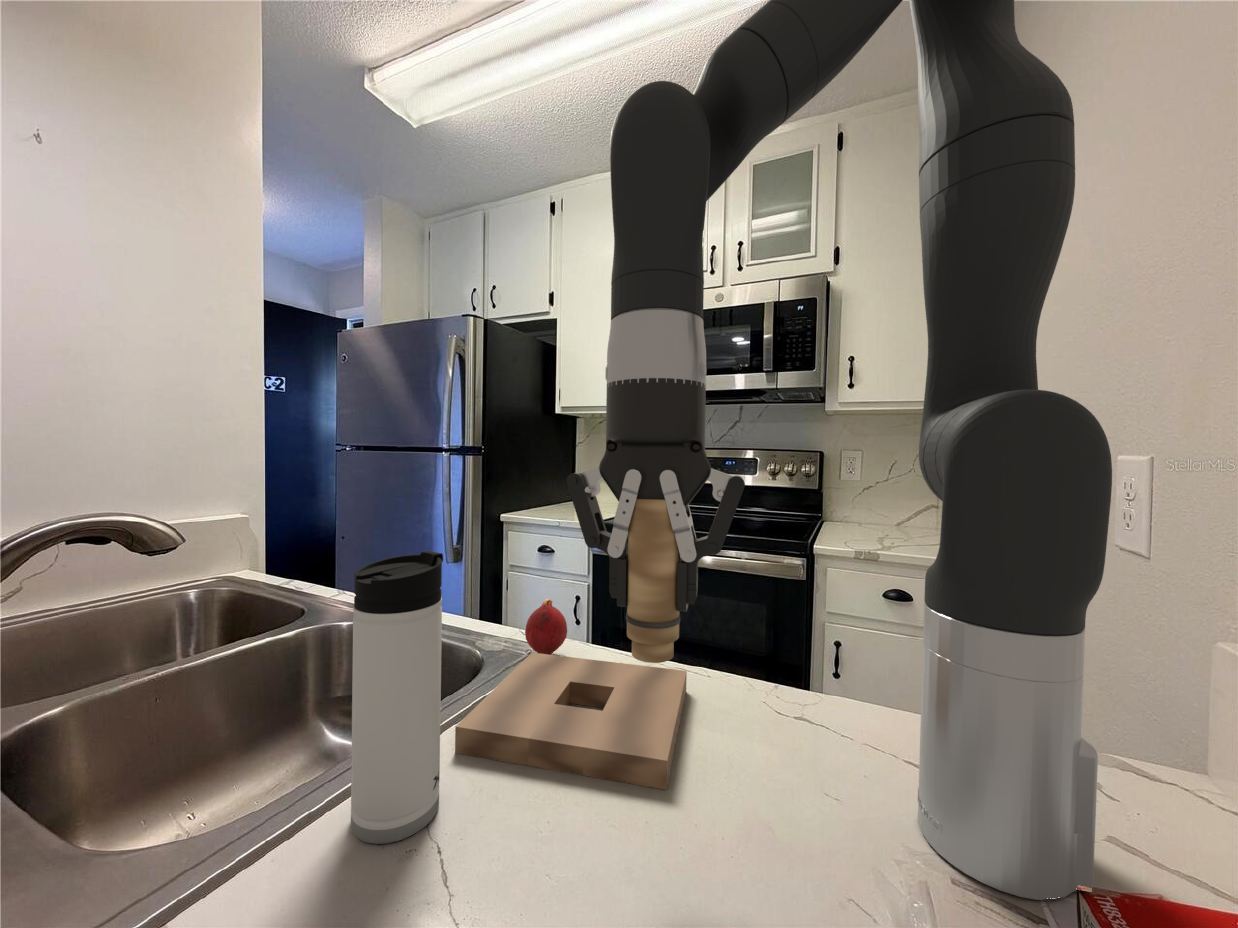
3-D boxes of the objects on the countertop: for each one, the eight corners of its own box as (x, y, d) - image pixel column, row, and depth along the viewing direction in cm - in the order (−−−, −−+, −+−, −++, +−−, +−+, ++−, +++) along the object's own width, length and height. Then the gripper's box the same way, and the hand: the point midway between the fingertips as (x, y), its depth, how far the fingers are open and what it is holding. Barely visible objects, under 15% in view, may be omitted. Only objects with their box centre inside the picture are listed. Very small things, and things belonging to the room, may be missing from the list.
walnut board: (686, 691, 59) (686, 670, 59) (666, 789, 42) (667, 760, 41) (531, 671, 64) (531, 652, 64) (455, 752, 46) (455, 726, 46)
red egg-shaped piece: (558, 667, 65) (559, 607, 65) (518, 662, 66) (519, 604, 66) (571, 650, 71) (572, 595, 71) (534, 646, 72) (535, 592, 72)
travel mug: (459, 804, 39) (463, 556, 39) (381, 860, 34) (385, 571, 33) (411, 775, 43) (414, 547, 42) (333, 822, 37) (336, 559, 37)
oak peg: (682, 646, 39) (684, 496, 39) (676, 668, 35) (678, 501, 35) (631, 641, 40) (633, 495, 40) (620, 662, 36) (622, 499, 36)
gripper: (750, 387, 39) (747, 599, 40) (581, 390, 43) (579, 587, 43) (754, 370, 32) (750, 631, 32) (550, 376, 35) (547, 613, 35)
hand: (652, 605), depth 38 cm, fingers closed on oak peg, 4 cm apart
